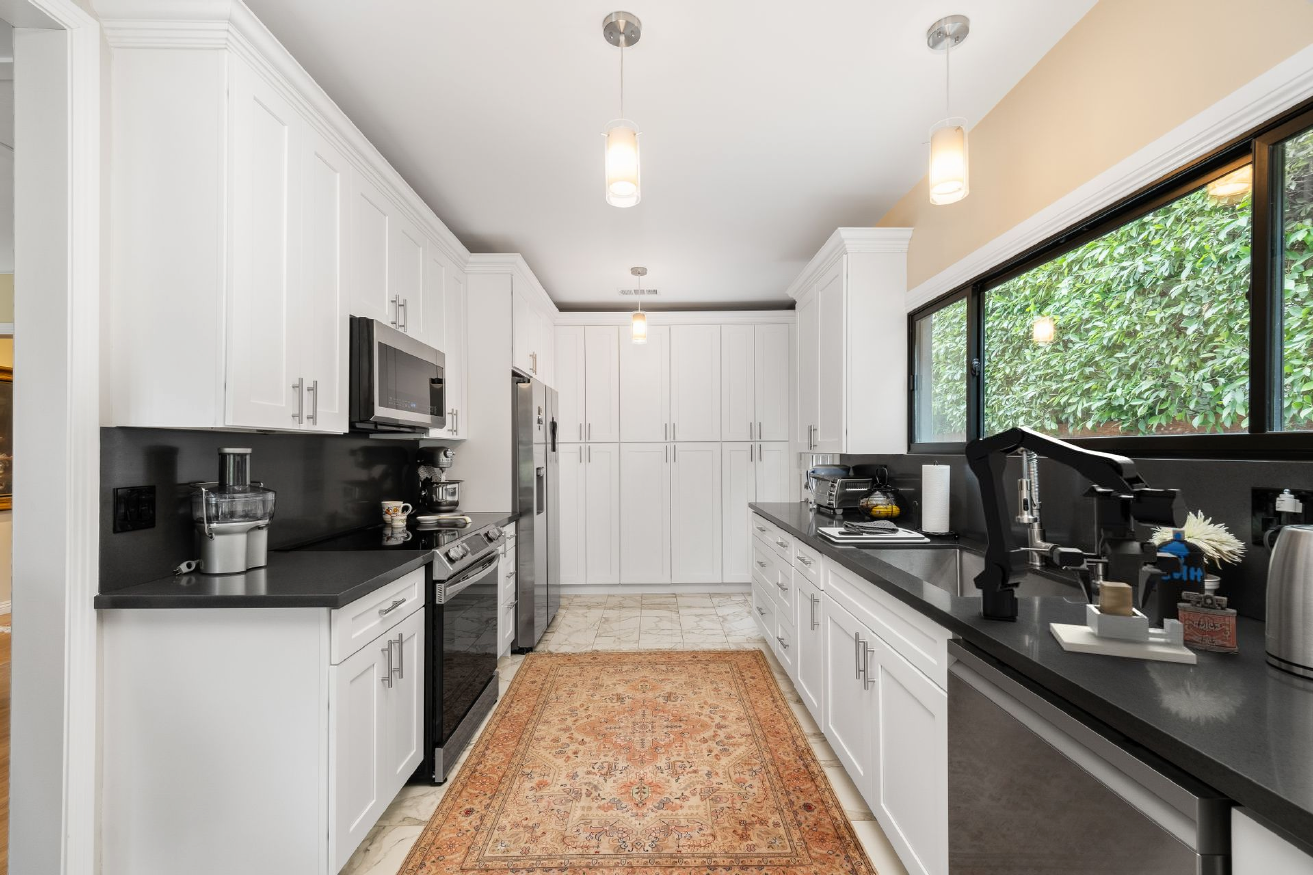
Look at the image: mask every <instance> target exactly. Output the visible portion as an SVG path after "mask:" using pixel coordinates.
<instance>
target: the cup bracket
mask: <svg viewBox="0 0 1313 875" xmlns="http://www.w3.org/2000/svg"><path fill="white" fill-rule="evenodd" d="M1132 608H1133V616H1125V615H1113V614H1101V613H1100V604H1098V605H1097V604H1089V603H1088V604H1086V626H1088V627H1090V628H1091V629H1092V630H1093V631H1094V633H1095V634H1096V635H1097V636H1103V637H1114V638H1124V639H1135V640H1145V641H1149V638H1159V639H1164V640H1165V641H1166V642H1167V643H1169V644H1170V645H1175V646H1184V645H1183V624H1182V623H1181V622H1179V621H1178V620H1176V619H1164V626H1163V629H1162V628H1151V627H1149V621H1150V620H1149V617H1147V616H1146V615H1144V614H1143V613H1141V611H1139V610H1137V608H1135V607H1132Z"/></svg>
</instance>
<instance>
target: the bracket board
mask: <svg viewBox="0 0 1313 875" xmlns="http://www.w3.org/2000/svg"><path fill="white" fill-rule="evenodd" d="M1049 630H1050V632H1051V634H1052V635H1053V636H1054V637H1055V639H1056V640H1057V641H1058V643H1059V644H1060V646H1061V648H1063V650H1064V651H1067V652H1069V651H1070V652H1077V653H1088V654H1099V655H1105V656H1106V655H1108V656H1114V657H1115V656H1116V657H1125V658H1132V659H1133V658H1134V659H1143V660H1144V659H1145V660H1154V661H1164V662H1171V663H1172V662H1173V663H1174V662H1175V663H1181V664H1182V663H1183V664H1193V665H1197V654H1195V653H1193V652H1192V651H1191V650H1190V649H1188V648H1187V646H1184V645H1183V646H1175V645H1170V644H1169V643H1167V642H1166V641H1165V640H1164V639H1159V638H1149V641H1145V640H1135V639H1124V638H1114V637H1103V636H1097V635H1096V634H1095V633H1094V631H1093V630H1092V629H1091V628H1090V627H1089V626H1088V625H1077V624H1076V625H1074V624H1064V623H1054V622H1049Z"/></svg>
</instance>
